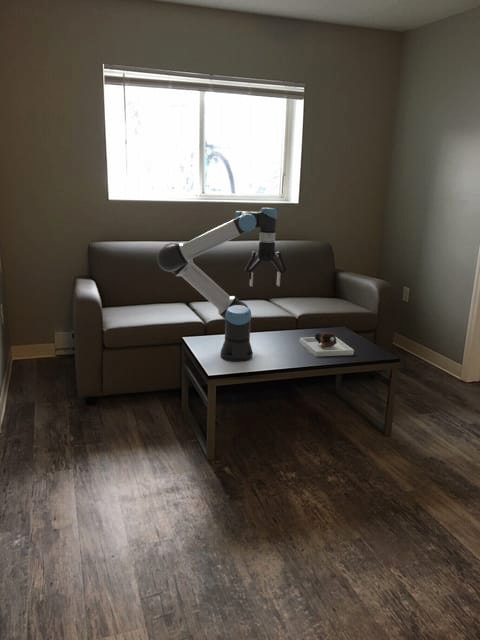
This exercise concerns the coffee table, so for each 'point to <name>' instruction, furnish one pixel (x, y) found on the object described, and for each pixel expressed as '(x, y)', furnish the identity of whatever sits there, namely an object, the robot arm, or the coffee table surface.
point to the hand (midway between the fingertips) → (264, 285)
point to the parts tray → (335, 350)
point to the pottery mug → (325, 340)
